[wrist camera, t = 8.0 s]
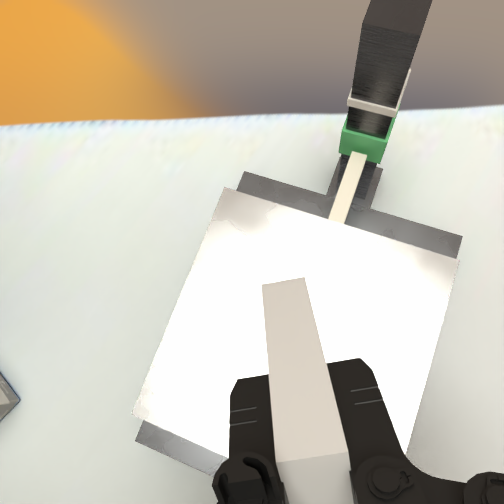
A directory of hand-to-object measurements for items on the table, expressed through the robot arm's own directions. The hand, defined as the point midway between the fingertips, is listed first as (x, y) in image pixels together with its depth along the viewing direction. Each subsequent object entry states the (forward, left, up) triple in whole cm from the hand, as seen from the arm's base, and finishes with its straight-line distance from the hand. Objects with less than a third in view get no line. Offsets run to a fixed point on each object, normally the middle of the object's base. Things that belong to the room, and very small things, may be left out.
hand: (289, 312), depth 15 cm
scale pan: (0, +2, -12) cm, 12 cm away
